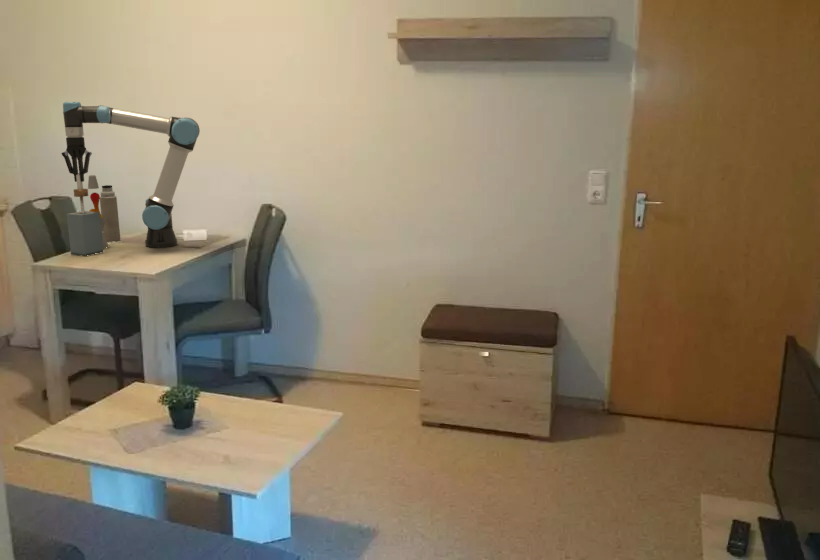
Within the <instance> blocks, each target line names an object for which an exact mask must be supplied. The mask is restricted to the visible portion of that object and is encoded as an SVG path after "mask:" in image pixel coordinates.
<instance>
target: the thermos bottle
mask: <svg viewBox="0 0 820 560" xmlns="http://www.w3.org/2000/svg"><path fill="white" fill-rule="evenodd" d="M99 204H100V206H99V207H100V213H101V215H102V216H106V220H105V224H104V228H103V234H104V236H105V239H106V241H107V243H112V241H115V242H118V241H119V240H120V241H121V232H120V221H119V220H120V218H119V210H118V199H117V195H116V194H115V191H113V185H109V184H108V185H107V184H105V185H102V186H101V192H100V199H99Z"/></svg>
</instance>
